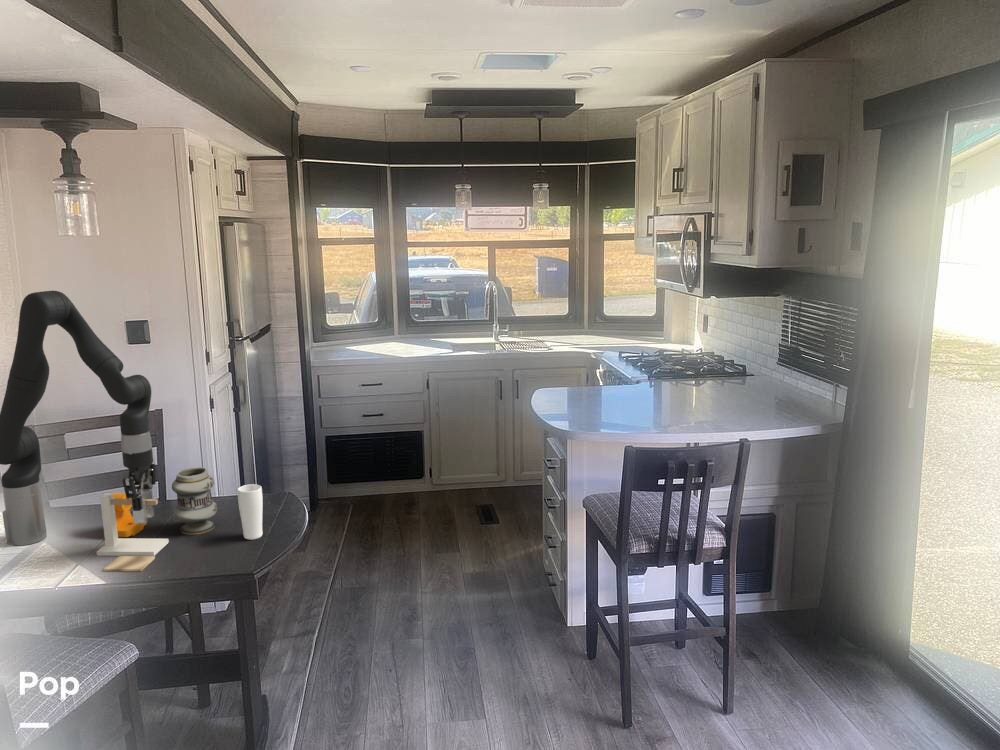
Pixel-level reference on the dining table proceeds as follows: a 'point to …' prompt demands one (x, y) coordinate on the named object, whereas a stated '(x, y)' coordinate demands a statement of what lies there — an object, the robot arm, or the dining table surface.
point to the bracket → (125, 518)
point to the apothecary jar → (194, 500)
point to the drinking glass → (251, 510)
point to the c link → (144, 507)
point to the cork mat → (129, 563)
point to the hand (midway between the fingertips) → (142, 506)
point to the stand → (125, 545)
